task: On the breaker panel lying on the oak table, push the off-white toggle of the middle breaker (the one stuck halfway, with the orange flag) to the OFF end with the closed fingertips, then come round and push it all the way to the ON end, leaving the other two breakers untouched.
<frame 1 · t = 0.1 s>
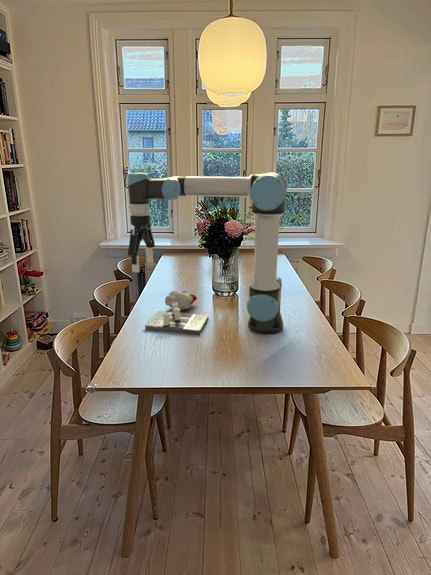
hand: (143, 267, 161), 28 cm above the table, fingers open, 13 cm apart
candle: (183, 308, 194), on the table
breaker far: (175, 308, 180), point 5 cm above the table, slide at 6.0 cm
breaker mid: (177, 314, 174), point 5 cm above the table, slide at 3.0 cm
panel: (177, 324, 175), on the table
breaker near: (166, 318, 169), point 5 cm above the table, slide at 6.0 cm
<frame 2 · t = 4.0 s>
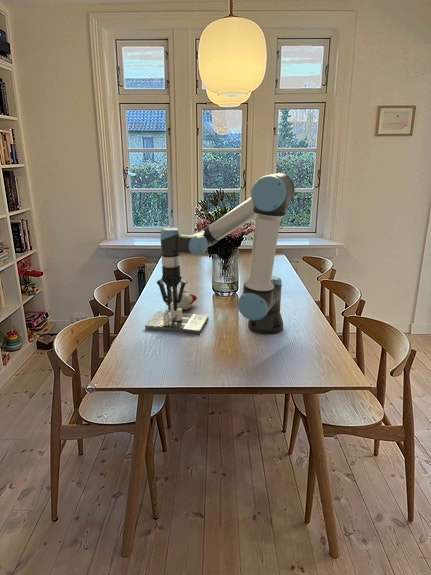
hand: (173, 317, 175), 3 cm above the table, fingers closed
breaker mid: (179, 314, 174), point 5 cm above the table, slide at 2.1 cm, touching gripper
everything else where it was.
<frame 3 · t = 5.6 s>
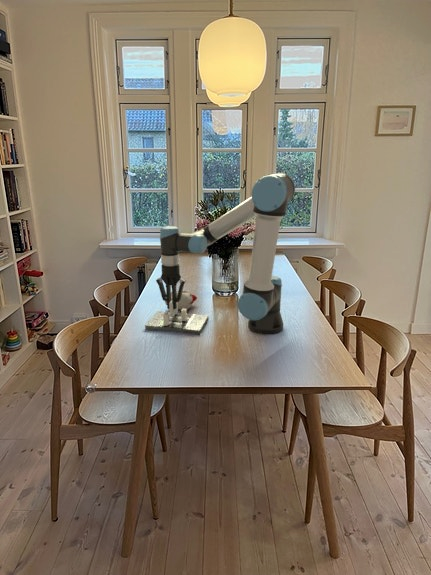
hand: (172, 315, 175), 4 cm above the table, fingers closed
breaker mid: (184, 314, 173), point 5 cm above the table, slide at -0.1 cm
everything else where it was.
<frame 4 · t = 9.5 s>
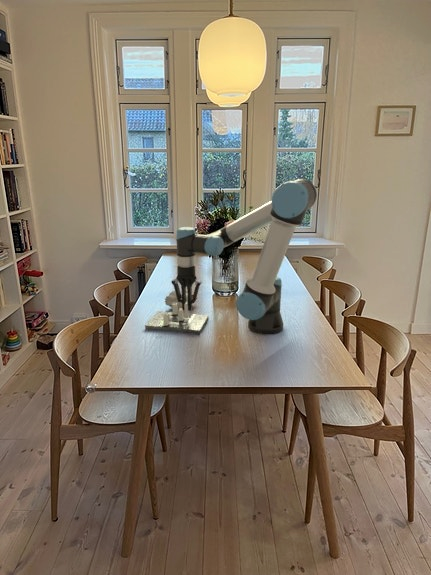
hand: (187, 317, 173), 4 cm above the table, fingers closed
breaker mid: (181, 314, 173), point 5 cm above the table, slide at 1.3 cm, touching gripper
everything else where it was.
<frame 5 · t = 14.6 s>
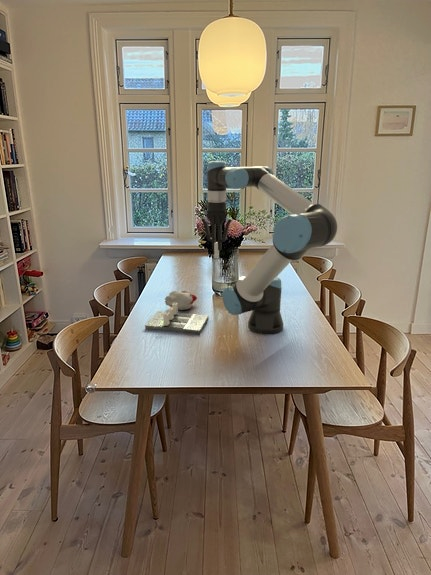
hand: (216, 257, 169), 29 cm above the table, fingers closed
breaker mid: (170, 313, 174), point 5 cm above the table, slide at 6.1 cm
everything else where it was.
at the end: breaker mid slide at 6.1 cm; breaker near slide at 6.0 cm; breaker far slide at 6.0 cm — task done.
